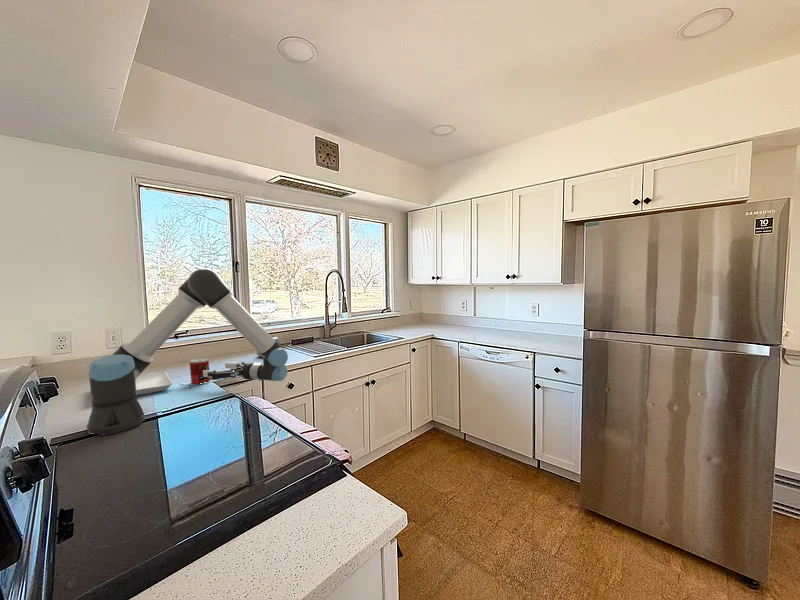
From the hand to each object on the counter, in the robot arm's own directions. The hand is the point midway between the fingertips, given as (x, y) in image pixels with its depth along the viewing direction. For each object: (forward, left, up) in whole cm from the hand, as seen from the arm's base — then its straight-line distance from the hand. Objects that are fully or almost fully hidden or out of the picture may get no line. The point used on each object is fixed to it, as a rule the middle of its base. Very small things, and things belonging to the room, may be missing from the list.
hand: (215, 369), depth 160 cm
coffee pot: (+50, +5, -7) cm, 51 cm away
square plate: (-15, +31, -7) cm, 35 cm away
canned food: (0, +8, -7) cm, 11 cm away
